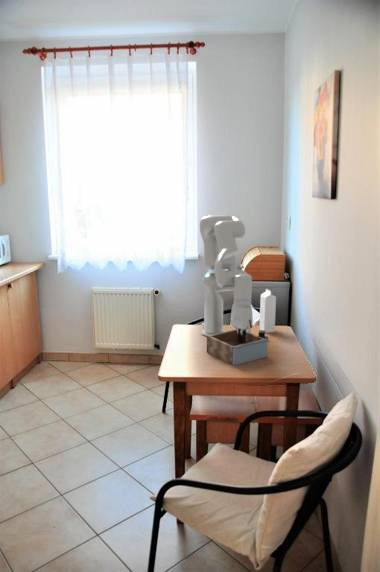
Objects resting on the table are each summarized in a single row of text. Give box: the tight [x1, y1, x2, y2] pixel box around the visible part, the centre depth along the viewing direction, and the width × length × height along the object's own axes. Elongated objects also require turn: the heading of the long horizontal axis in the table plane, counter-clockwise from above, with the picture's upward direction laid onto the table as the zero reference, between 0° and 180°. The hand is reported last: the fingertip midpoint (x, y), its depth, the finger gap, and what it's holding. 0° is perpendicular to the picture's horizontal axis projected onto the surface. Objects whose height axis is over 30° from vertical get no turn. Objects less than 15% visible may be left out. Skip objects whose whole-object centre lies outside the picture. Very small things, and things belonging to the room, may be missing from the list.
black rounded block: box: [258, 329, 269, 340], centre depth 229 cm, size 12×7×5 cm, turn 167°
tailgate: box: [232, 339, 269, 366], centre depth 199 cm, size 1×19×8 cm, turn 124°
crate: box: [206, 329, 264, 365], centre depth 207 cm, size 18×19×8 cm
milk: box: [259, 288, 277, 334], centre depth 240 cm, size 6×6×22 cm
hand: (241, 342), depth 203 cm, fingers closed
